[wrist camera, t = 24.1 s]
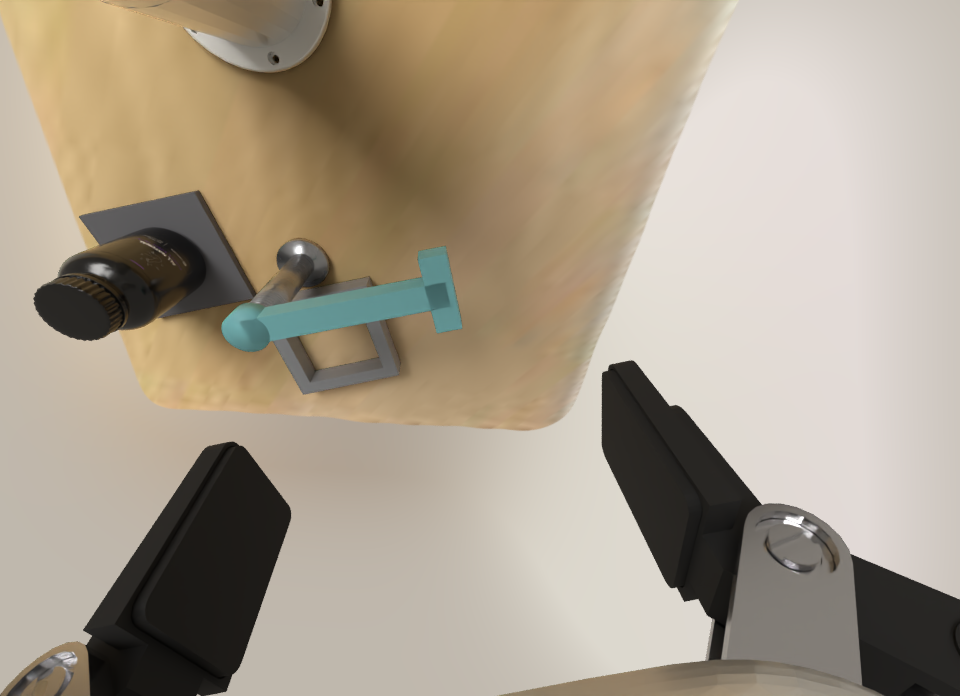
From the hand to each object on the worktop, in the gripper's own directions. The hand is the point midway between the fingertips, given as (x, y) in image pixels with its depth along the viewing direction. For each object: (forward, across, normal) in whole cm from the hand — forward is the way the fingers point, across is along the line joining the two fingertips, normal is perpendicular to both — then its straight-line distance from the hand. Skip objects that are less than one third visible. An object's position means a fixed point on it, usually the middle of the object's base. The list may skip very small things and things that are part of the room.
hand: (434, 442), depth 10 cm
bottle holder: (+33, +15, +13) cm, 39 cm away
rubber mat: (+33, +27, +1) cm, 43 cm away
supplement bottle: (+33, +27, +1) cm, 42 cm away
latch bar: (+20, +8, +4) cm, 22 cm away
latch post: (+33, +15, +4) cm, 37 cm away
